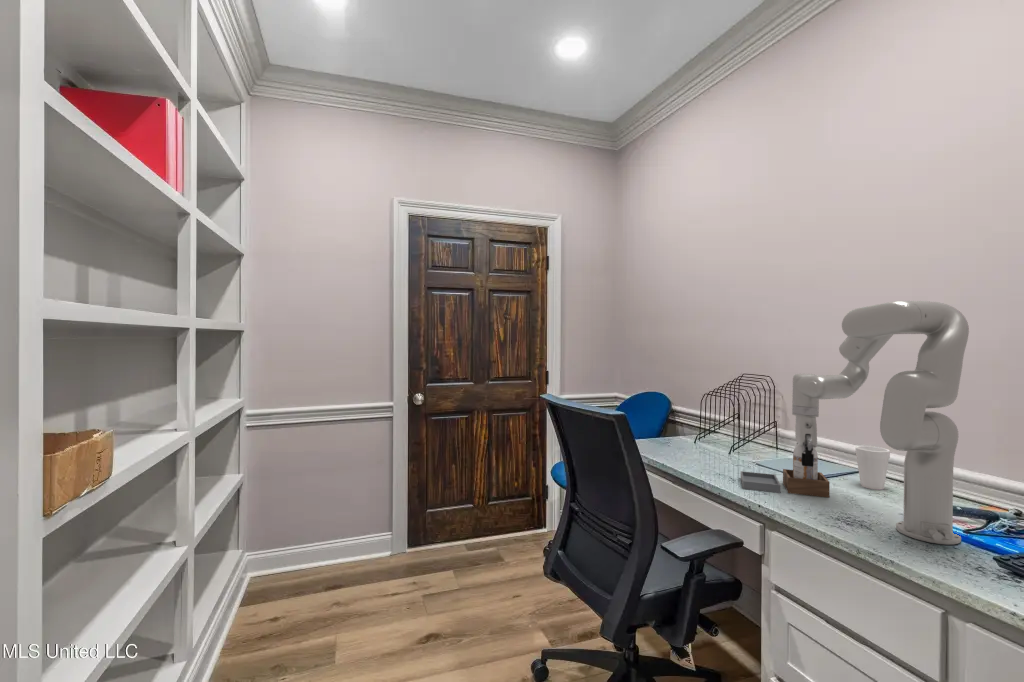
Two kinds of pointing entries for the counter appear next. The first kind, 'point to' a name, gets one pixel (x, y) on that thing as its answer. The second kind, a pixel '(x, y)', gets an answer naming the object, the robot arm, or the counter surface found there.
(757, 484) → the tray
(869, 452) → the foam cup
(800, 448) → the bath foam
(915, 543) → the counter surface
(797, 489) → the small wooden crate
